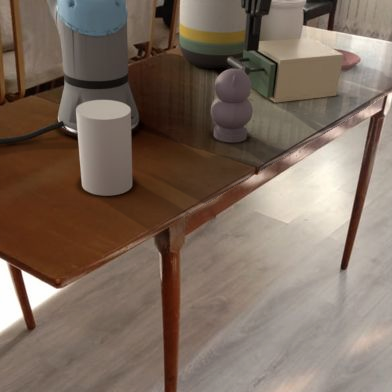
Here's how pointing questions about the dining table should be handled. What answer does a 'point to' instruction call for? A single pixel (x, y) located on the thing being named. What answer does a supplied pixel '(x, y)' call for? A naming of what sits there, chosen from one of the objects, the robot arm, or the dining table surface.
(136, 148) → the dining table surface
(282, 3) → the jar
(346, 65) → the plate
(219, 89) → the cat figurine
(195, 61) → the vase
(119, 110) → the white cylinder
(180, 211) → the dining table surface
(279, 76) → the cabinet
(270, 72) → the drawer
